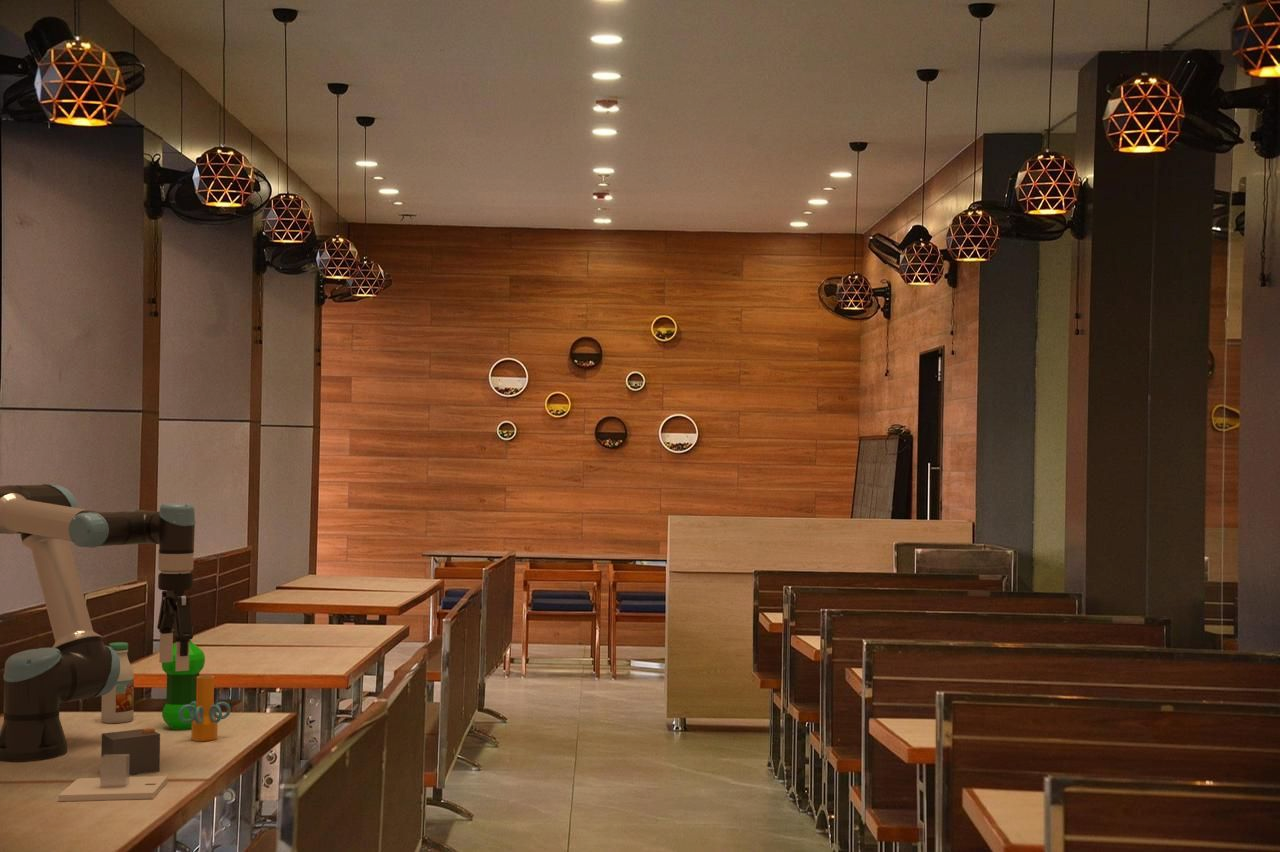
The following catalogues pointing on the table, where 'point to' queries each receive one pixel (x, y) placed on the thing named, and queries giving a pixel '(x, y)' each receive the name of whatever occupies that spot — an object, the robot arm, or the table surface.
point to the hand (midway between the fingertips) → (173, 666)
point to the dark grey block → (135, 748)
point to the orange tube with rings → (204, 711)
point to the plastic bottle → (181, 687)
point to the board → (113, 792)
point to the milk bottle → (120, 691)
